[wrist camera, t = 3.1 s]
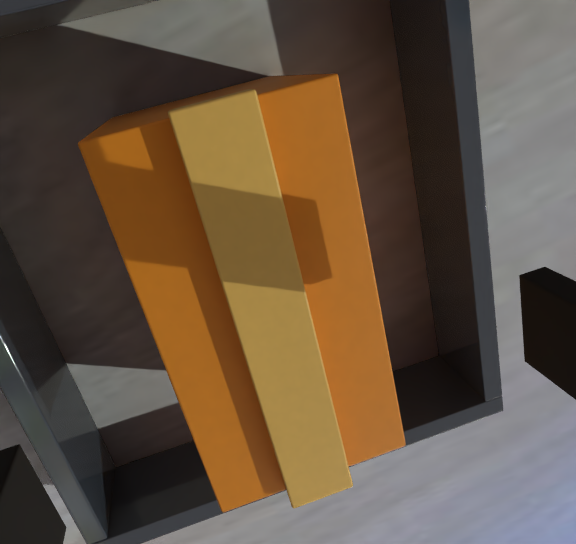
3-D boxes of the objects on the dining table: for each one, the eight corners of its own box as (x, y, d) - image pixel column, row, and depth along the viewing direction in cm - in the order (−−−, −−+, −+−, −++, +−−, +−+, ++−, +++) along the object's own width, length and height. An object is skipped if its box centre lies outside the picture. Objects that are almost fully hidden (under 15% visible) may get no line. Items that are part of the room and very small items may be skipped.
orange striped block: (109, 113, 23) (68, 137, 13) (269, 71, 24) (346, 64, 14) (203, 377, 28) (225, 534, 19) (330, 334, 29) (416, 463, 19)
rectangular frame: (-120, 36, 20) (-203, 23, 16) (399, -83, 23) (459, -124, 18) (105, 486, 29) (95, 561, 25) (454, 364, 32) (503, 411, 28)
